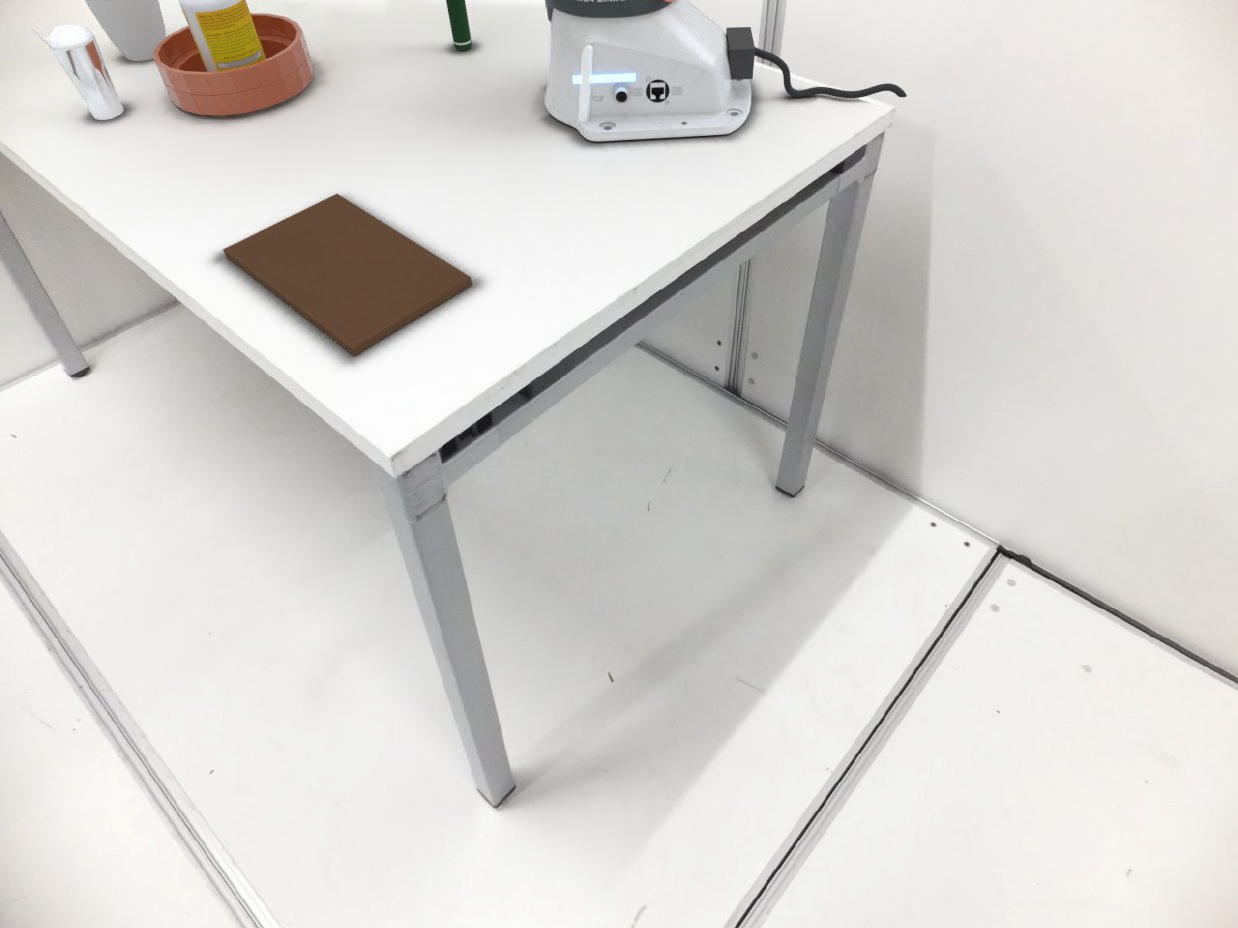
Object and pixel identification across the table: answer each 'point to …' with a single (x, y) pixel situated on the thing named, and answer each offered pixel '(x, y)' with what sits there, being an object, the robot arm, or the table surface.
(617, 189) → the table surface
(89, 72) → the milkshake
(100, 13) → the cup
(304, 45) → the bowl
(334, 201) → the mat
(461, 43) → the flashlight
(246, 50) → the supplement bottle
